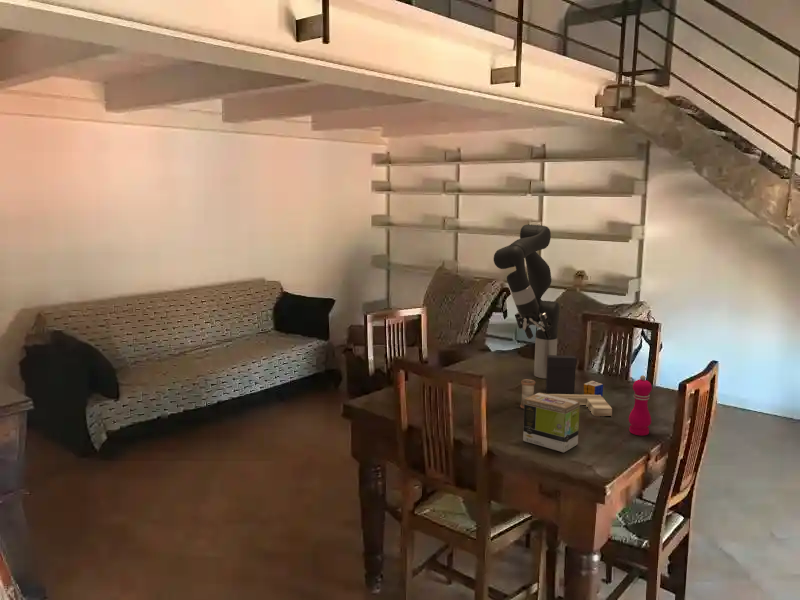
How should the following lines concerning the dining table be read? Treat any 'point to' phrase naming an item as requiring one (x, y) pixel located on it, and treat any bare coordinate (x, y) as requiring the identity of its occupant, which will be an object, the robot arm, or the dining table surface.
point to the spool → (527, 390)
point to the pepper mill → (640, 408)
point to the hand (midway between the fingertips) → (539, 338)
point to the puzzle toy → (593, 388)
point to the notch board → (590, 403)
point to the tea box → (551, 421)
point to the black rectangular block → (560, 374)
